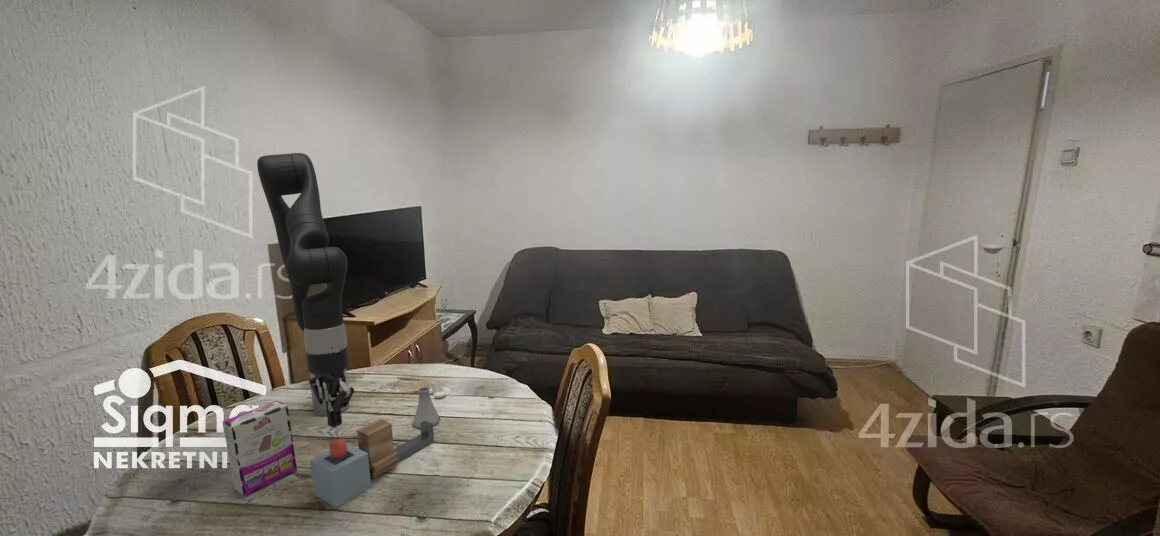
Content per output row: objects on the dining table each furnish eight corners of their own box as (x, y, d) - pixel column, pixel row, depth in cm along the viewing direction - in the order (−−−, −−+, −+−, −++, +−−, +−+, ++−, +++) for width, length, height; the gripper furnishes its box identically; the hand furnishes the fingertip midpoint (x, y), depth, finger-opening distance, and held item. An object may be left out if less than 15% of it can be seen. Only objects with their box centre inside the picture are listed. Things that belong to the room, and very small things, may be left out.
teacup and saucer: (445, 400, 145) (445, 388, 144) (419, 400, 145) (418, 388, 144) (453, 388, 153) (453, 376, 152) (429, 388, 153) (428, 376, 152)
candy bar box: (286, 464, 112) (277, 399, 109) (297, 470, 110) (289, 404, 107) (232, 490, 103) (221, 420, 100) (243, 498, 100) (232, 426, 97)
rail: (356, 478, 107) (353, 458, 106) (426, 438, 123) (424, 420, 122) (364, 482, 105) (362, 462, 104) (434, 441, 121) (432, 423, 120)
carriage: (357, 469, 109) (352, 428, 107) (380, 456, 114) (376, 417, 112) (376, 479, 105) (371, 437, 103) (399, 465, 110) (395, 425, 108)
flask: (431, 431, 127) (429, 395, 125) (407, 428, 128) (404, 393, 126) (444, 417, 134) (442, 384, 132) (421, 415, 135) (418, 382, 133)
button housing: (314, 494, 101) (309, 460, 100) (349, 474, 108) (345, 442, 107) (335, 508, 97) (331, 472, 96) (371, 486, 104) (367, 453, 102)
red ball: (327, 456, 101) (325, 443, 100) (341, 449, 103) (340, 436, 103) (336, 461, 99) (334, 448, 98) (350, 454, 102) (349, 441, 101)
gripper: (290, 345, 97) (300, 424, 100) (326, 358, 90) (336, 442, 93) (326, 335, 103) (334, 410, 106) (363, 346, 96) (370, 425, 99)
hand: (335, 425), depth 100 cm, fingers closed
